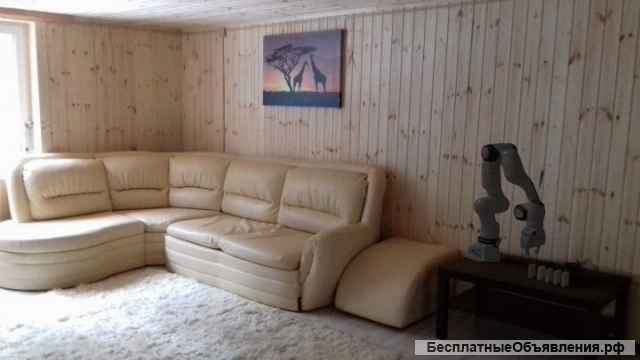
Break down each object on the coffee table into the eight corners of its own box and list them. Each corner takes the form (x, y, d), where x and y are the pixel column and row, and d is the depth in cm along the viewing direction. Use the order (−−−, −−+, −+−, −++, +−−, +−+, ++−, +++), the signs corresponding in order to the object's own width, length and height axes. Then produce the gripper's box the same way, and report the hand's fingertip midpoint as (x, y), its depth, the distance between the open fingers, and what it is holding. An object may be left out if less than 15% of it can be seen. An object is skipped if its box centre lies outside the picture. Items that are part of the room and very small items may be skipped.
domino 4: (552, 283, 306) (553, 270, 305) (556, 282, 309) (557, 269, 308) (555, 284, 305) (556, 271, 304) (560, 283, 308) (561, 270, 307)
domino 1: (527, 277, 317) (528, 264, 316) (532, 275, 320) (533, 263, 319) (530, 277, 316) (531, 265, 315) (535, 276, 319) (536, 264, 318)
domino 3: (544, 281, 310) (545, 268, 309) (549, 280, 312) (550, 267, 311) (547, 282, 308) (548, 269, 307) (552, 281, 311) (553, 268, 310)
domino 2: (537, 279, 313) (537, 267, 312) (541, 278, 316) (542, 265, 315) (540, 280, 312) (541, 267, 311) (544, 278, 314) (545, 266, 314)
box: (569, 277, 318) (570, 264, 317) (563, 274, 323) (564, 261, 323) (579, 277, 319) (580, 264, 318) (572, 274, 325) (573, 261, 324)
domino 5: (560, 285, 303) (561, 272, 302) (565, 284, 306) (566, 271, 305) (564, 286, 301) (565, 273, 300) (568, 285, 304) (569, 272, 303)
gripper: (539, 226, 324) (536, 250, 326) (519, 231, 311) (516, 256, 313) (549, 228, 319) (547, 253, 321) (529, 233, 306) (527, 259, 308)
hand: (532, 254), depth 317 cm, fingers open, 8 cm apart
